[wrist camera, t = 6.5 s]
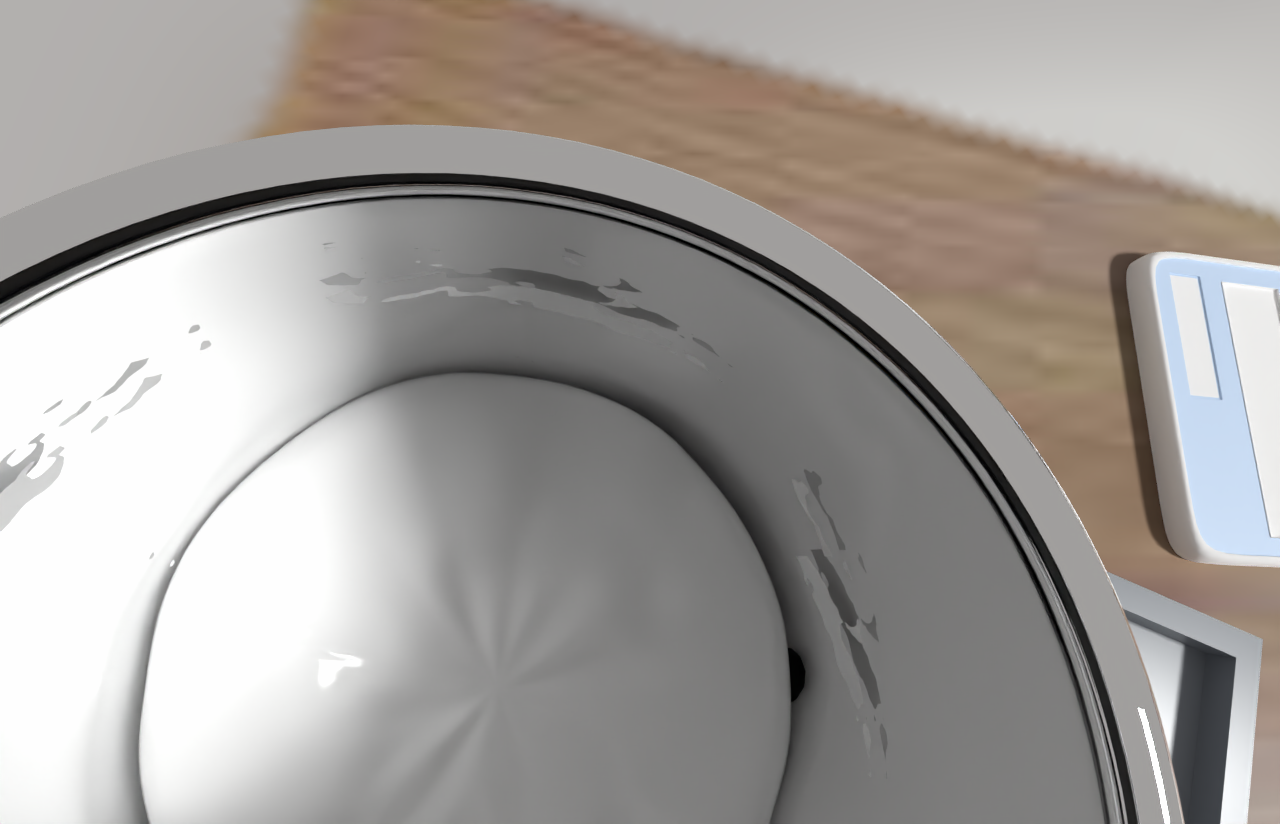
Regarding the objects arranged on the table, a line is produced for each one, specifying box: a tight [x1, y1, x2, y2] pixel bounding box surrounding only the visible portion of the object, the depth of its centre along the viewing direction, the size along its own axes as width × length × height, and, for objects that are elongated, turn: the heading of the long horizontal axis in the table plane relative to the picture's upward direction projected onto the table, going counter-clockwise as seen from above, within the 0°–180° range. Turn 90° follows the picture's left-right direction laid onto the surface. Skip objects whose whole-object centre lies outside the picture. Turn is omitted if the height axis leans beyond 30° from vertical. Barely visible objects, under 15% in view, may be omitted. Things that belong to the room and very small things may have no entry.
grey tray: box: [1106, 571, 1263, 824], centre depth 21 cm, size 16×14×2 cm
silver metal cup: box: [0, 125, 1185, 824], centre depth 10 cm, size 7×7×15 cm
